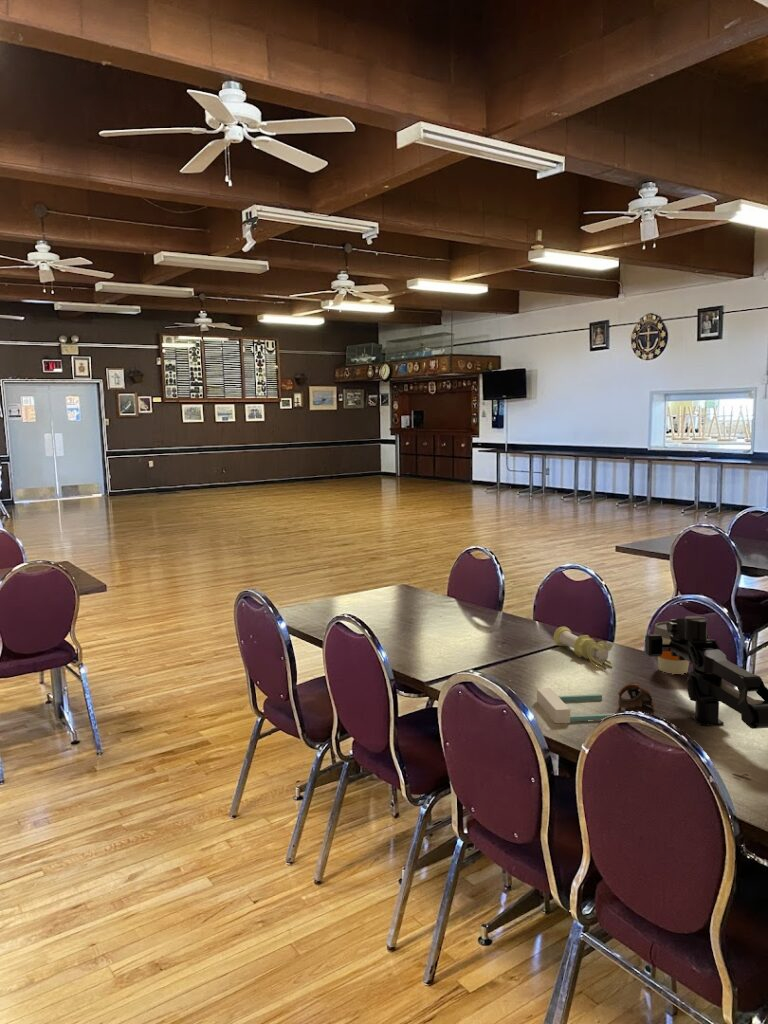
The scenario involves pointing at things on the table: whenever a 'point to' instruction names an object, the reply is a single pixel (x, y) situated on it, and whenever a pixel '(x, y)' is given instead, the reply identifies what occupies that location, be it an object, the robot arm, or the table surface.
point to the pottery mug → (635, 697)
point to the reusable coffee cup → (669, 654)
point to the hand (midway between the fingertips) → (663, 637)
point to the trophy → (583, 646)
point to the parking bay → (565, 706)
